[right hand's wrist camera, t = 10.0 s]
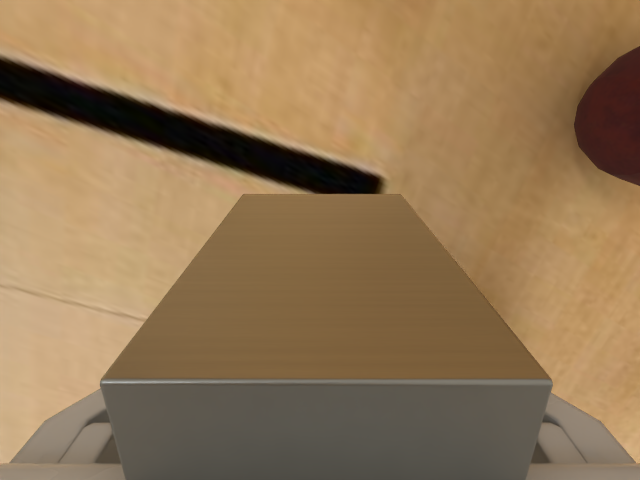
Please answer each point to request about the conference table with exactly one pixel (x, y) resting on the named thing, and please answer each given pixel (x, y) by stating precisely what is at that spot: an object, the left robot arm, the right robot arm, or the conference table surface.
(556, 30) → the conference table surface
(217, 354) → the bar
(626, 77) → the potato
